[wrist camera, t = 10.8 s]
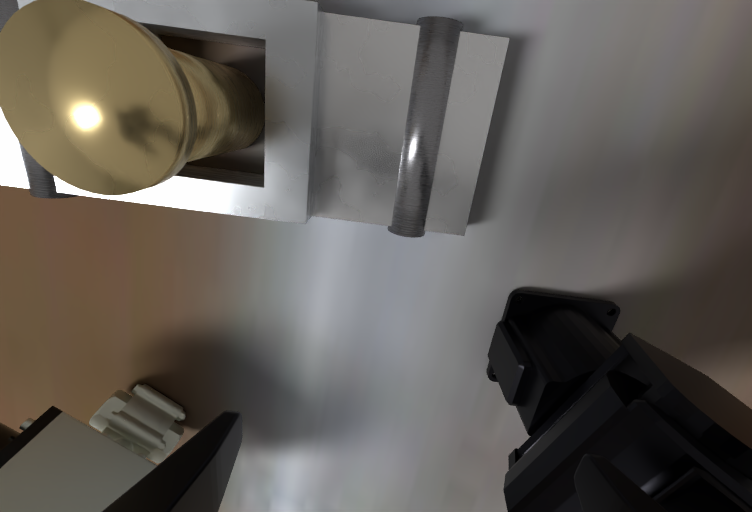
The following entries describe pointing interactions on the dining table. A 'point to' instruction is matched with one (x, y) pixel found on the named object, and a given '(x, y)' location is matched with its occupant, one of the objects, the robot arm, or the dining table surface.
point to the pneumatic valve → (86, 453)
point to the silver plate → (327, 116)
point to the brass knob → (116, 98)
